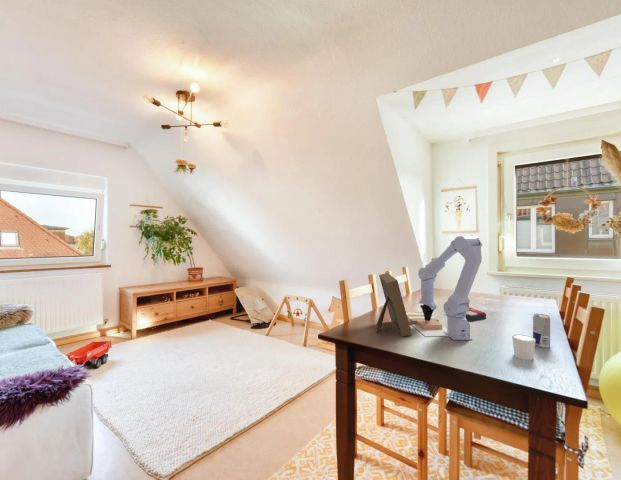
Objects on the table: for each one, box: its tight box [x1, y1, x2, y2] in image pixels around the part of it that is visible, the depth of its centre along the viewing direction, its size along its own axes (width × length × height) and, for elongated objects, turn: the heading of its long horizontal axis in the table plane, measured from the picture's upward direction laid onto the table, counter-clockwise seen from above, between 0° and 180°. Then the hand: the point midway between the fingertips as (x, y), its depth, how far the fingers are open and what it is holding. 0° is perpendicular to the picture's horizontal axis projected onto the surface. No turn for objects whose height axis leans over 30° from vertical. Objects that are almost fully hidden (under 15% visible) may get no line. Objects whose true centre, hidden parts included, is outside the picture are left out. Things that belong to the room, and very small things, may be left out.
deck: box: [406, 311, 440, 325], centre depth 150 cm, size 15×13×2 cm
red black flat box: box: [466, 306, 487, 322], centre depth 155 cm, size 11×4×15 cm
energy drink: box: [532, 313, 551, 349], centre depth 114 cm, size 5×5×12 cm
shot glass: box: [511, 334, 536, 361], centre depth 105 cm, size 7×7×7 cm
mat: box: [411, 324, 449, 338], centre depth 134 cm, size 16×14×1 cm
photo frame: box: [375, 272, 413, 338], centre depth 137 cm, size 15×22×25 cm
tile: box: [416, 320, 443, 330], centre depth 138 cm, size 8×9×2 cm
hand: (427, 320), depth 140 cm, fingers closed
